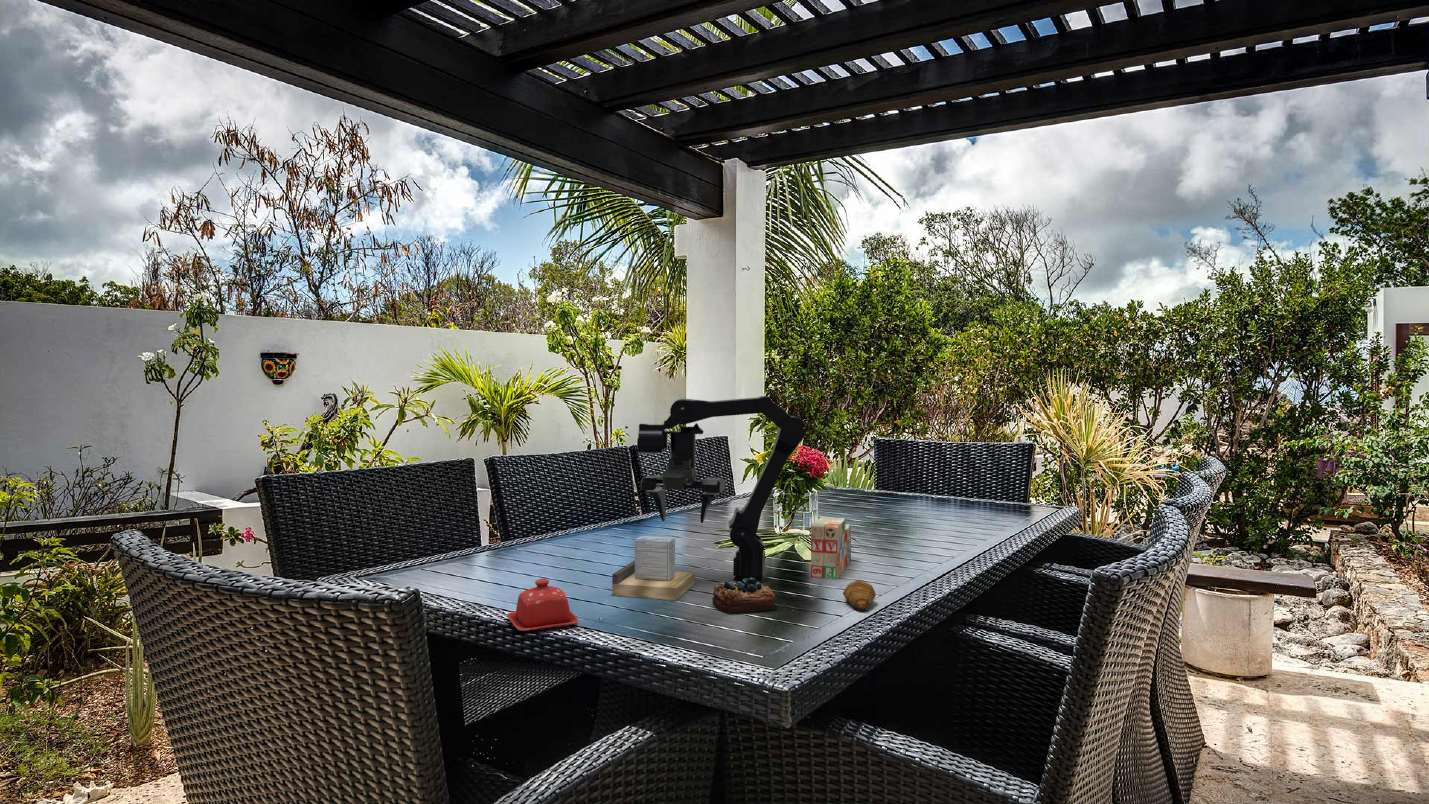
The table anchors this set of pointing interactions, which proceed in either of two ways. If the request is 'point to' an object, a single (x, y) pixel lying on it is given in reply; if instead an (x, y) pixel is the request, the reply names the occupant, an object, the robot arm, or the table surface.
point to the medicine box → (655, 558)
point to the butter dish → (542, 608)
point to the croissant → (859, 595)
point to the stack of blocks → (830, 547)
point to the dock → (650, 584)
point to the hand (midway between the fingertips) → (682, 521)
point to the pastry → (743, 597)
